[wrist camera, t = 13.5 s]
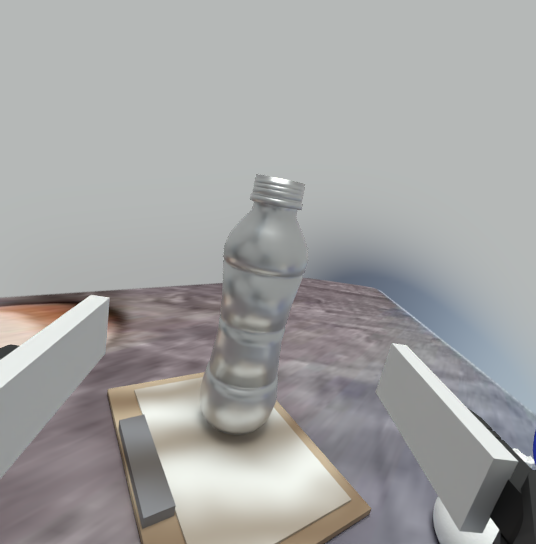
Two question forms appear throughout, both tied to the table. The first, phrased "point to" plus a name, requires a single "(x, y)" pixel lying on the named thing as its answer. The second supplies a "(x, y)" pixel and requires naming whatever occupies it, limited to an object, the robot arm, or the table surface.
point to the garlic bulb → (455, 540)
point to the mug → (534, 448)
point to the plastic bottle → (255, 308)
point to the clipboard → (224, 473)
